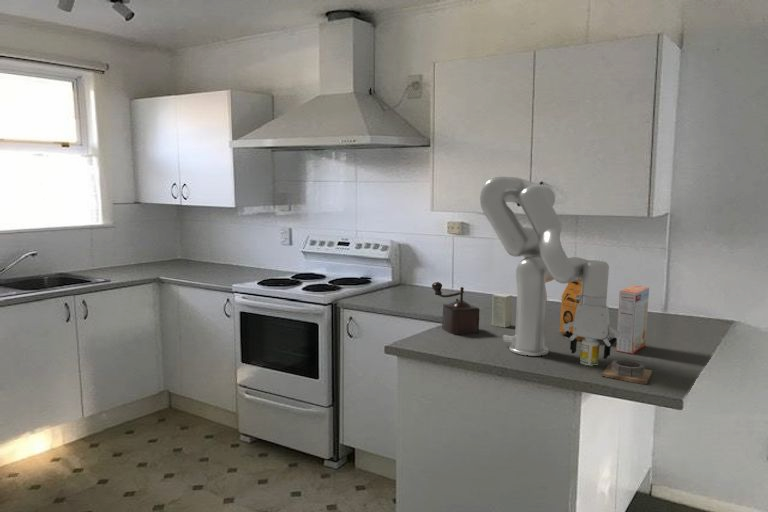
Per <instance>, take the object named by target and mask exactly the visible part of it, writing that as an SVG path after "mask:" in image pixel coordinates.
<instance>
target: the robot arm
mask: <svg viewBox="0 0 768 512" xmlns="http://www.w3.org/2000/svg"><path fill="white" fill-rule="evenodd" d="M479 200H480V207H481V210H482V212H483V214H484V215H485V218H486V219H487V220H488V222H489V223H490V225H491V227H492V229H493V231H494V232H495V235H496V236H497V238H498V239H499V241H500V242H501V244H502V246H503V248H504V250H505V251H506V252H507V254H509V256H511V257H518V258H519V257H523V258H522V260H520V261H519V263H518V264H517V266H516V270H515V279H516V311H515V326H514V328H515V330H514V331H515V332H514V335H509V334H503V336H502V341H504V342H506V343H510V345H509V350H510V352H512V353H514V354H518V355H521V356H527V355H528V356H531V357H541V355H542V356H546V355H548V353H549V348H548V347H547V346H545V335H546V320H547V319H546V318H547V317H546V316H547V299H548V298H547V297H548V296H547V289H546V283H549V282H550V283H551V282H552V281H554V280H555V281H556V282H557V283H560V284H564V285H565V284H568V283H570V282H574V281H580V280H582V288H581V294H580V295H576V299H577V300H580V303H579V304H578V305H577V308H576V313H575V318H574V321H573V322H570V323H567V324H564V325H563V329H564V331H565V334H566V336H567V337H568V339H569V341H570V343H569V344H570V345H569V346H570V347H569V350H571V354H575V353H576V352H577V345H578V340H577V339H576V337H577V336H579V337H585V338H591V339H597V341H600V340H602V341H603V342H604V344H605V345H604V348H603V359H605V360H607V358H608V357H610V356H611V347H612V346H611V345H613V344H614V343H617V339H618V338H619V337H620V335H621V332H619V331H618V330H617V329H616V328H615V327H614V326H612V325H610V310H609V306H608V305H607V297H608V285H609V270H610V266H609V263H608V262H607V261H603V260H598V259H597V260H595V259H594V260H593V259H591V260H590V259H586V258H581V257H577V256H571V257H568V256H567V254H566V252H565V250H564V248H563V245H562V243H561V232H562V229H563V223H562V221H561V218H560V217H559V216H558V214H557V212H556V211H555V209H554V207H553V206H554V205H555V203H556V195H555V193H554V191H553V190H552V188H550V187H549V186H548V185H544V184H540V183H537V182H534V181H530V180H526V179H523V178H519V177H513V176H495V177H492V178H489V179H488V180H487V181H486V182H485V183H484V184H483V186H482V188H481V191H480V195H479ZM507 203H515V204H519V205H520V207H521V208H522V210H523V212H524V214H525V216H526V217H527V219H528V221H529V223H530V225H531V226H532V227H529V226H523V225H522V223H521V222H520V220H519V219H518V217H517V215H516V214H515V212H514V211H513V210H512V209H511V208H510V207H509V206H508V204H507ZM571 326H573V334H572V333H571V332H570V330H569V327H571ZM610 333H612V334H613V335H614V336H613V337H612V338H611V339H610V337H609V335H610ZM565 334H564V335H565Z"/></svg>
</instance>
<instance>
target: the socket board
mask: <svg viewBox="0 0 768 512" xmlns="http://www.w3.org/2000/svg"><path fill="white" fill-rule="evenodd" d="M652 373H653V370H651V369H646V368H645V364H644V363H642V362H640V361H637V360H631V359H625V358H622V359H621V358H620V359H613V360H612V361H611V363H609V364H608V365H607V367H605V369H604V370H603V372H602V373H601V377H602V376H607V377H611V378H615V379H614V380H617V379H619V380H618V381H623V380H624V382H628V381H629V383H635V384H641V385H645V386H646V385H647V384H648V382H649V380H650V378H651V376H652ZM611 378H610V379H611Z"/></svg>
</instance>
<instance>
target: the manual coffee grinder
mask: <svg viewBox="0 0 768 512" xmlns="http://www.w3.org/2000/svg"><path fill="white" fill-rule="evenodd" d="M442 288H443V284H442V283H441V282H439V281H437V282H433V283H432V285H431V289H433V291H434V295H435V296H438V297H440V298H452V297H457V296H459V295H460V298H459V299H458V298H455V301H453V302H450V303H443V305H442V322H441V323H442V324H441V329H443V330H444V331H445V332H447V333H448V334H451V335H454V336H457V335H458V336H460V335H473V334H479V330H480V329H479V327H480V308H479V307H477V306H475V305H473V304H471V303H468V302H467V301H465V300H464V292H465V291H464V290H465V289H464V287H463V286H461V287H460V290H459V292H456V293H451V294H450V293H449V294H445V295H444V294H443V291H442Z"/></svg>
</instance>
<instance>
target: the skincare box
mask: <svg viewBox="0 0 768 512" xmlns="http://www.w3.org/2000/svg"><path fill="white" fill-rule="evenodd" d="M491 306H492V310H491V311H492V312H491V313H492V314H491V325H492V326H495V327H500V328H509V327H510V326H511V325H512V322H511V321H512V295H511V294H504V293H494V294H492V305H491Z"/></svg>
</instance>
